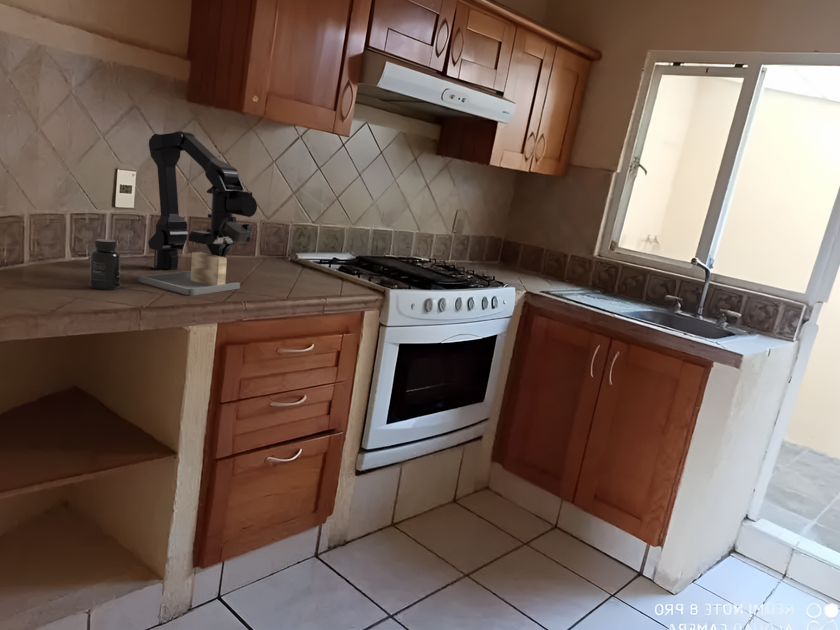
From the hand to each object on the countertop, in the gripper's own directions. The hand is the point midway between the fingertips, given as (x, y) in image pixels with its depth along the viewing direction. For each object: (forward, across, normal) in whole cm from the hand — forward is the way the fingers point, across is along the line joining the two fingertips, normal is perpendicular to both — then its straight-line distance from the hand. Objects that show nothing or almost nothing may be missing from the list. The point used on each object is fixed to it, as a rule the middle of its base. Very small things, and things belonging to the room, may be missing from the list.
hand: (218, 266), depth 178 cm
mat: (+5, -10, +1) cm, 11 cm away
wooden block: (+4, -4, 0) cm, 6 cm away
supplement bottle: (+5, -29, +10) cm, 31 cm away
